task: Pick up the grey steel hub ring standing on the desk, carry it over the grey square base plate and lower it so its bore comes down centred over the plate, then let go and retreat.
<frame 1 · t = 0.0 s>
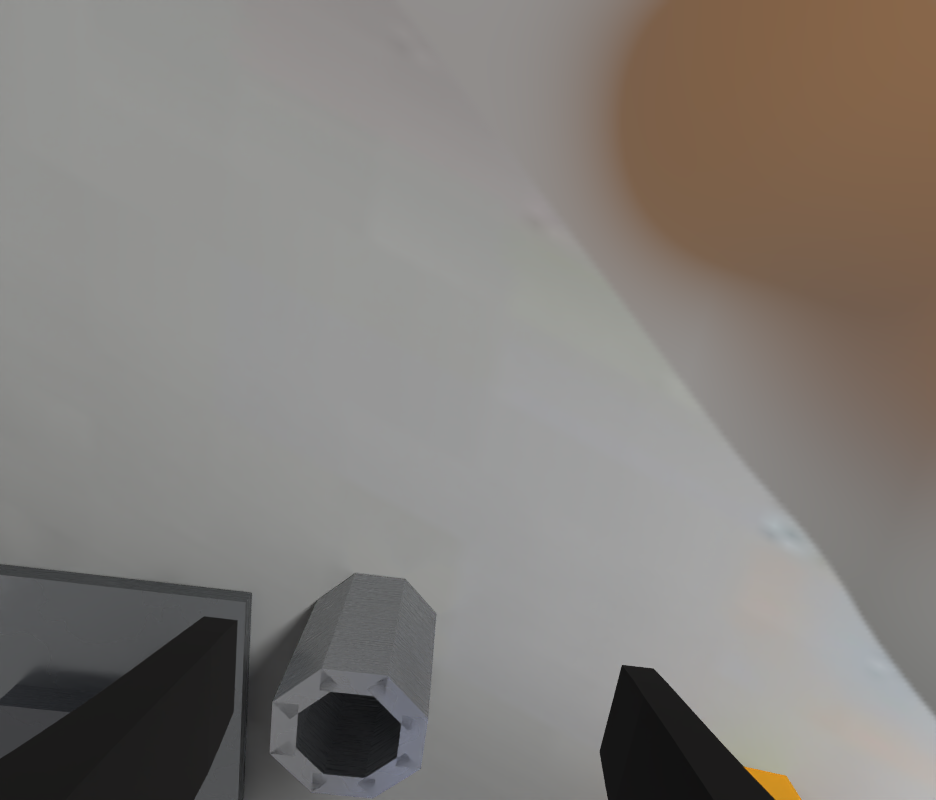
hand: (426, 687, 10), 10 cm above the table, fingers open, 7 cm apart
grey square base plate: (104, 738, 22), on the table
hub: (374, 628, 21), on the table
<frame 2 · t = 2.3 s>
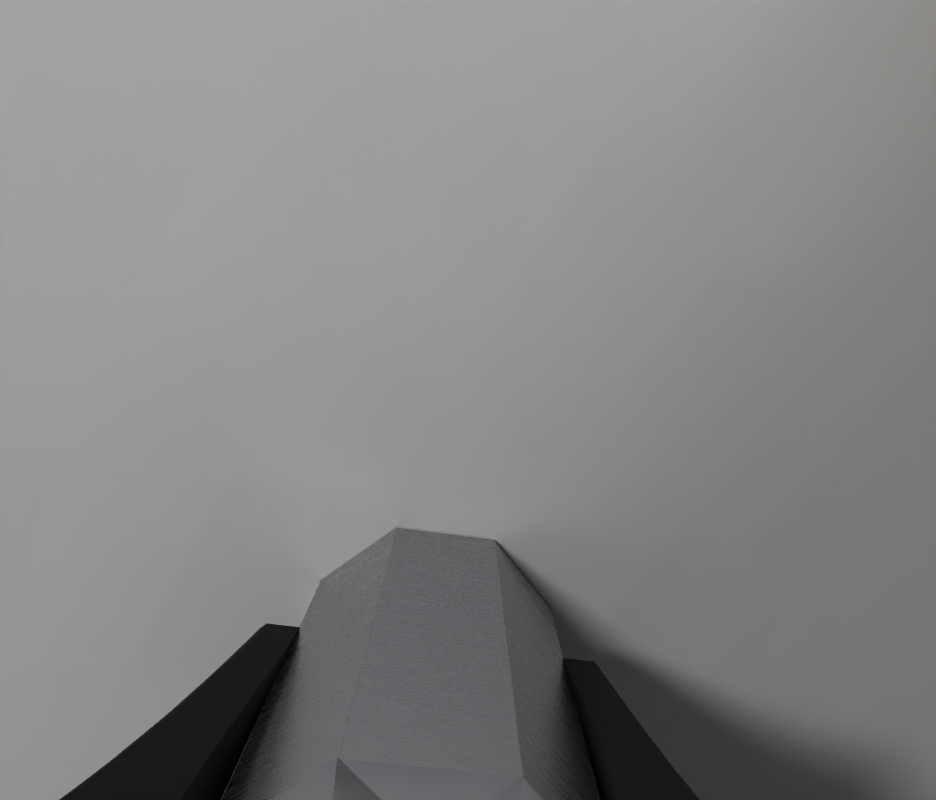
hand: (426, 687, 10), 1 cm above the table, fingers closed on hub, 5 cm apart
hub: (430, 635, 11), on the table, touching gripper
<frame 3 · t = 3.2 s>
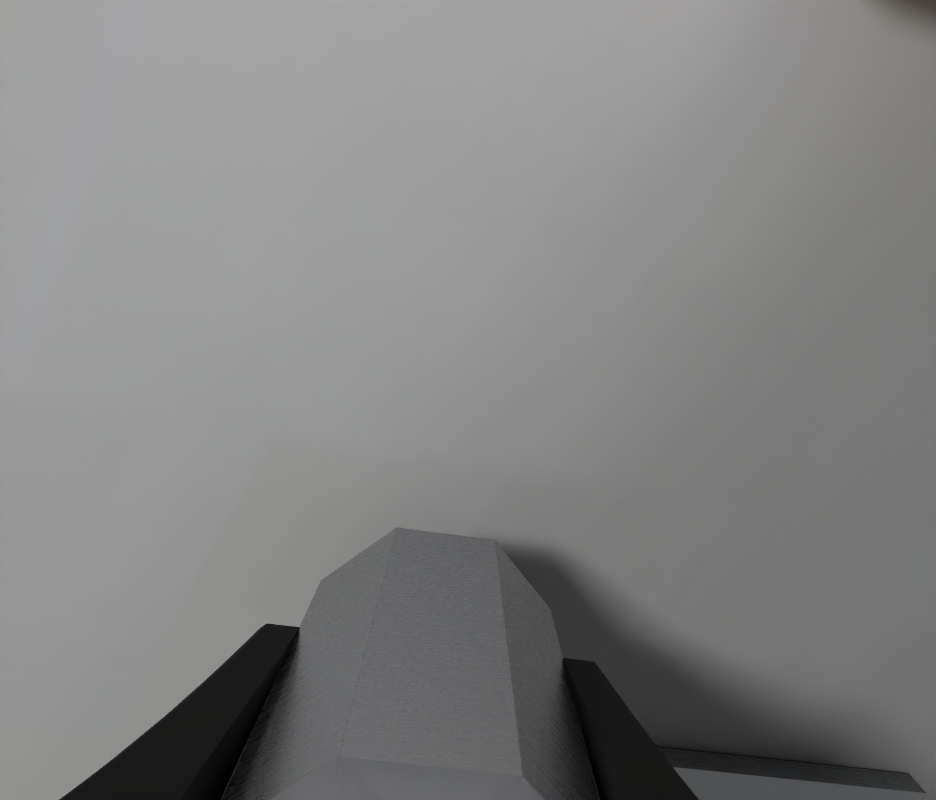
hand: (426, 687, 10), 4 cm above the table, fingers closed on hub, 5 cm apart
hub: (430, 635, 11), point 3 cm above the table, touching gripper
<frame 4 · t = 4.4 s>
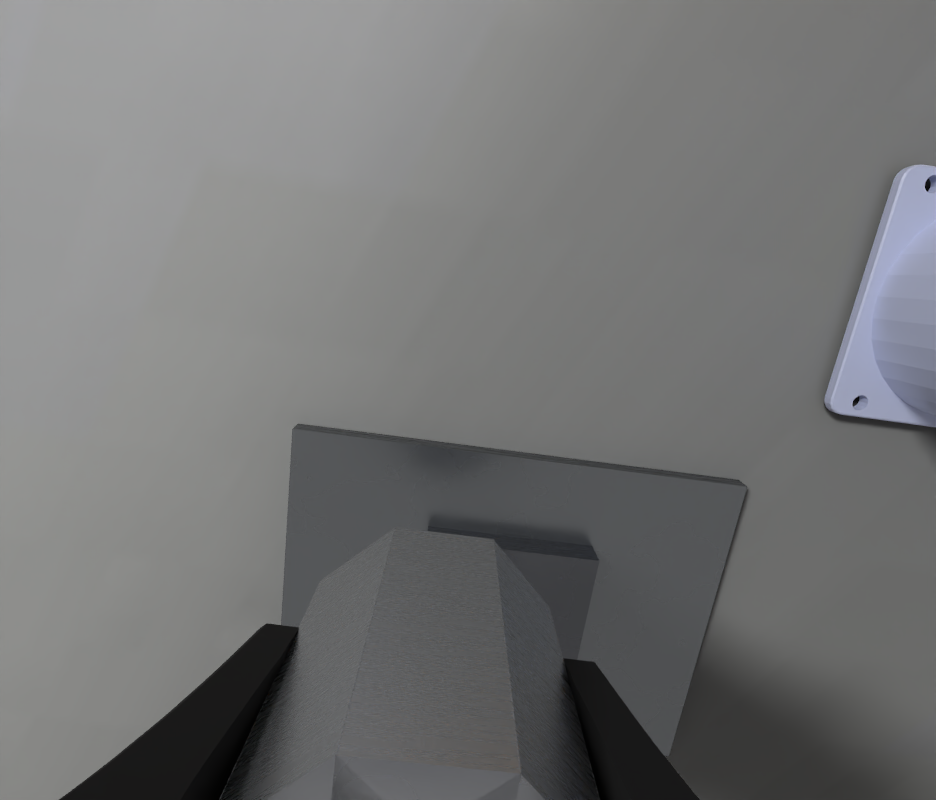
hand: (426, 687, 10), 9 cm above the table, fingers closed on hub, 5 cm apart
grey square base plate: (497, 597, 20), on the table
hub: (430, 634, 11), point 8 cm above the table, touching gripper
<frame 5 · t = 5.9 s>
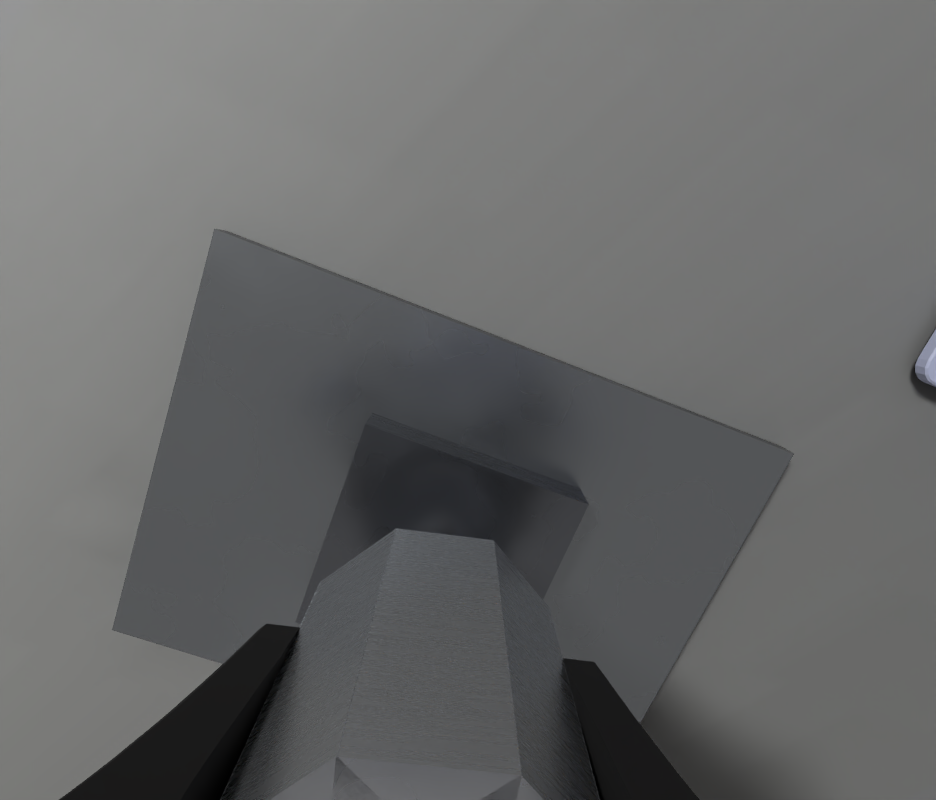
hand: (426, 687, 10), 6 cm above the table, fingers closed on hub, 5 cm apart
grey square base plate: (440, 534, 15), on the table
hub: (430, 635, 11), point 4 cm above the table, touching gripper
when the fingers open (5 cm above the table, at t = 7.0 s): hub drops 2 cm, resting on grey square base plate.
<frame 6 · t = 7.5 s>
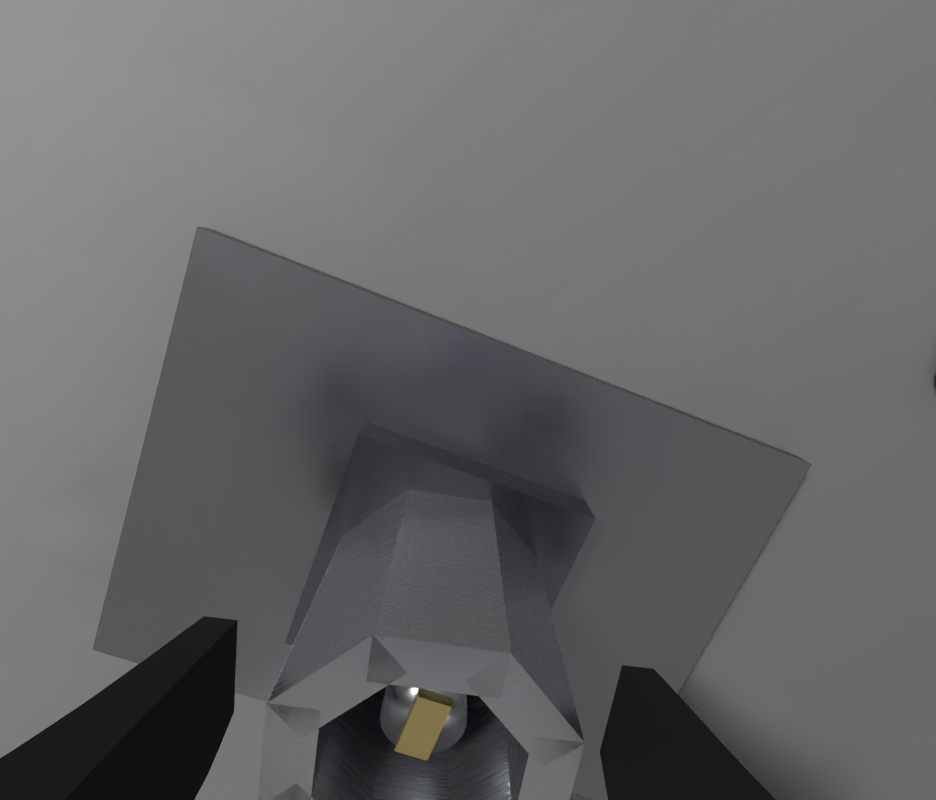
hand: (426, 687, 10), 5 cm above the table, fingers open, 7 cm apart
grey square base plate: (438, 548, 14), on the table
hub: (435, 583, 13), point 2 cm above the table, touching grey square base plate
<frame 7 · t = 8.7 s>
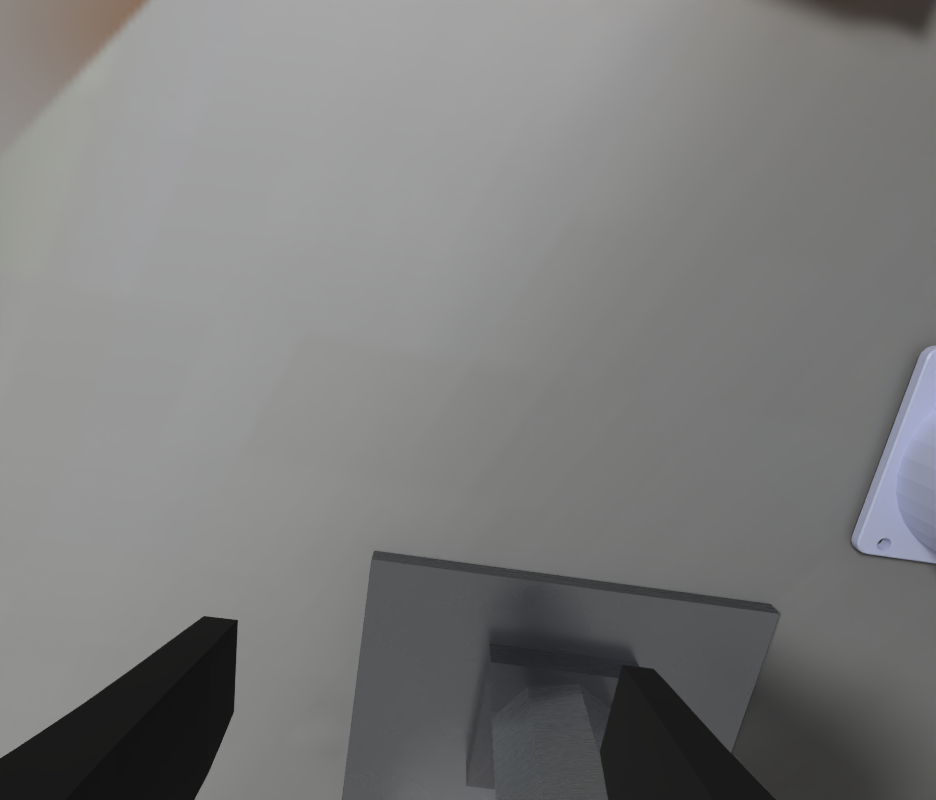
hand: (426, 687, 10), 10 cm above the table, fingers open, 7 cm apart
grey square base plate: (547, 702, 22), on the table
hub: (553, 735, 20), point 2 cm above the table, touching grey square base plate
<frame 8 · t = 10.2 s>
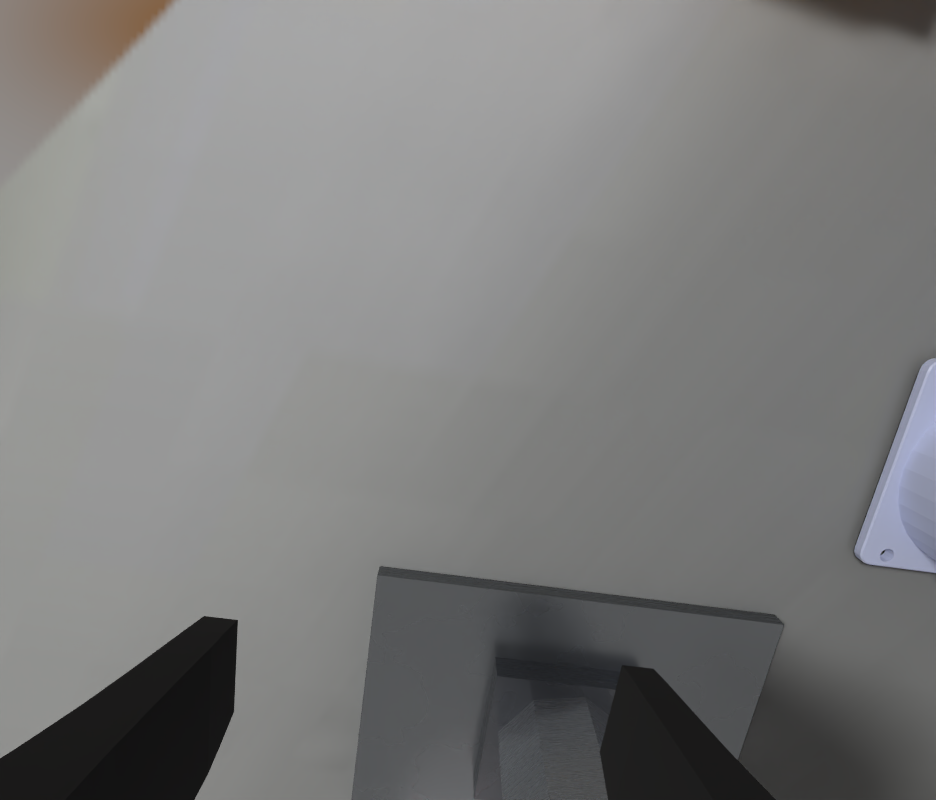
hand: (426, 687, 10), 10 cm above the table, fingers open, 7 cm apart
grey square base plate: (553, 713, 22), on the table
hub: (560, 748, 20), point 2 cm above the table, touching grey square base plate
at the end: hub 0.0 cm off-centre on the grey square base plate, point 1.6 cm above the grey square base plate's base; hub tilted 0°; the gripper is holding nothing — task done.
